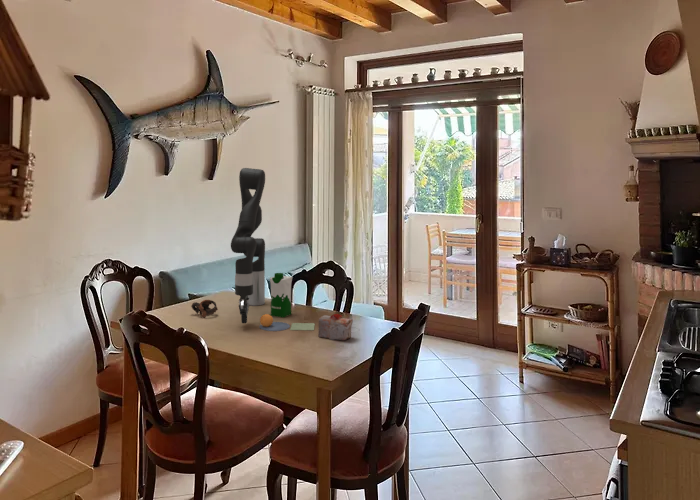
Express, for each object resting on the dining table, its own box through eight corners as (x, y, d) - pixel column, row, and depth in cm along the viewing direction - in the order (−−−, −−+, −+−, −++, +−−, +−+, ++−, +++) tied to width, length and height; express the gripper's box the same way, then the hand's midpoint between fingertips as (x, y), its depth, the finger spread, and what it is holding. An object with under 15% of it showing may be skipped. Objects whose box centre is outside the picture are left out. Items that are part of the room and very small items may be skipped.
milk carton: (267, 316, 238) (267, 273, 235) (278, 311, 246) (278, 270, 243) (284, 318, 234) (284, 275, 231) (294, 313, 242) (294, 272, 239)
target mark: (261, 322, 227) (261, 321, 227) (291, 322, 228) (291, 322, 228) (257, 330, 214) (257, 330, 214) (288, 331, 215) (288, 330, 215)
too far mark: (291, 323, 226) (291, 323, 226) (314, 323, 227) (314, 323, 227) (290, 330, 216) (290, 329, 216) (313, 330, 217) (313, 329, 217)
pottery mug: (218, 313, 243) (220, 300, 238) (212, 326, 235) (214, 313, 231) (193, 306, 242) (195, 293, 237) (186, 320, 234) (188, 307, 229)
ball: (276, 319, 223) (266, 328, 223) (267, 310, 223) (258, 319, 223) (275, 321, 218) (265, 330, 218) (266, 312, 218) (256, 321, 217)
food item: (354, 337, 209) (355, 313, 208) (347, 343, 202) (347, 318, 200) (324, 333, 214) (324, 310, 213) (315, 338, 207) (316, 314, 205)
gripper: (250, 286, 212) (250, 327, 214) (255, 280, 225) (255, 318, 227) (232, 286, 211) (232, 327, 214) (237, 280, 224) (238, 318, 227)
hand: (244, 322), depth 220 cm, fingers closed
